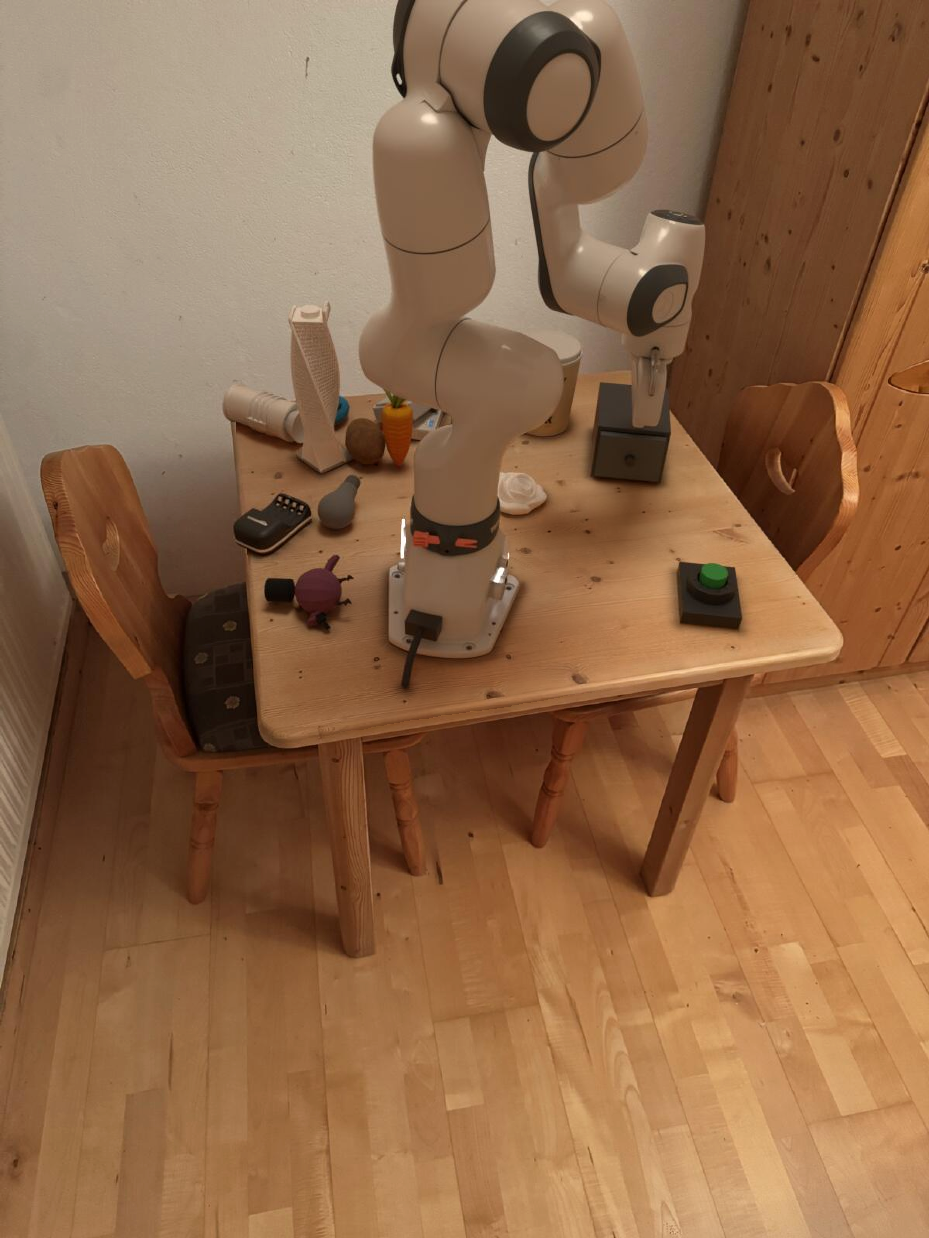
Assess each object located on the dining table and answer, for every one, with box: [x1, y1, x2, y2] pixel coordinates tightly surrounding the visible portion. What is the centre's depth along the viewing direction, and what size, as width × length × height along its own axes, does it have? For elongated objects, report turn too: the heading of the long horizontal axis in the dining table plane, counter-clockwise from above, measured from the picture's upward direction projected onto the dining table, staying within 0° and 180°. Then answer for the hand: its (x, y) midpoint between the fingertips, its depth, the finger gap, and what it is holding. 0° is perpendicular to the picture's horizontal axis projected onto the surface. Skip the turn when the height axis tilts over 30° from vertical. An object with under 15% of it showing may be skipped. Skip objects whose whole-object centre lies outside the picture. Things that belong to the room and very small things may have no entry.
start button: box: [699, 562, 728, 589], centre depth 123 cm, size 4×4×2 cm
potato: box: [344, 417, 386, 465], centre depth 148 cm, size 7×10×6 cm
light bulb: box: [317, 474, 362, 530], centre depth 136 cm, size 6×6×10 cm
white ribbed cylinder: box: [221, 383, 305, 444], centre depth 154 cm, size 7×7×15 cm
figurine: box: [263, 554, 355, 631], centre depth 121 cm, size 8×8×12 cm
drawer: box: [594, 430, 666, 483], centre depth 148 cm, size 15×10×8 cm
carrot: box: [381, 388, 413, 467], centre depth 144 cm, size 5×5×15 cm
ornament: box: [334, 395, 351, 427], centre depth 158 cm, size 8×5×10 cm
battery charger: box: [232, 492, 313, 556], centre depth 134 cm, size 7×4×11 cm
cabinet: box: [590, 381, 672, 484], centre depth 150 cm, size 15×12×10 cm
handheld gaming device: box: [372, 393, 431, 423], centre depth 158 cm, size 9×15×4 cm, turn 154°
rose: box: [498, 471, 548, 516], centre depth 141 cm, size 10×4×10 cm
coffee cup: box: [524, 329, 584, 437], centre depth 155 cm, size 12×12×15 cm
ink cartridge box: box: [381, 408, 445, 441], centre depth 158 cm, size 2×11×10 cm
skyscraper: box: [287, 299, 356, 475], centre depth 140 cm, size 8×8×28 cm
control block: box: [676, 561, 743, 631], centre depth 125 cm, size 11×8×4 cm
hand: (637, 422), depth 133 cm, fingers closed
